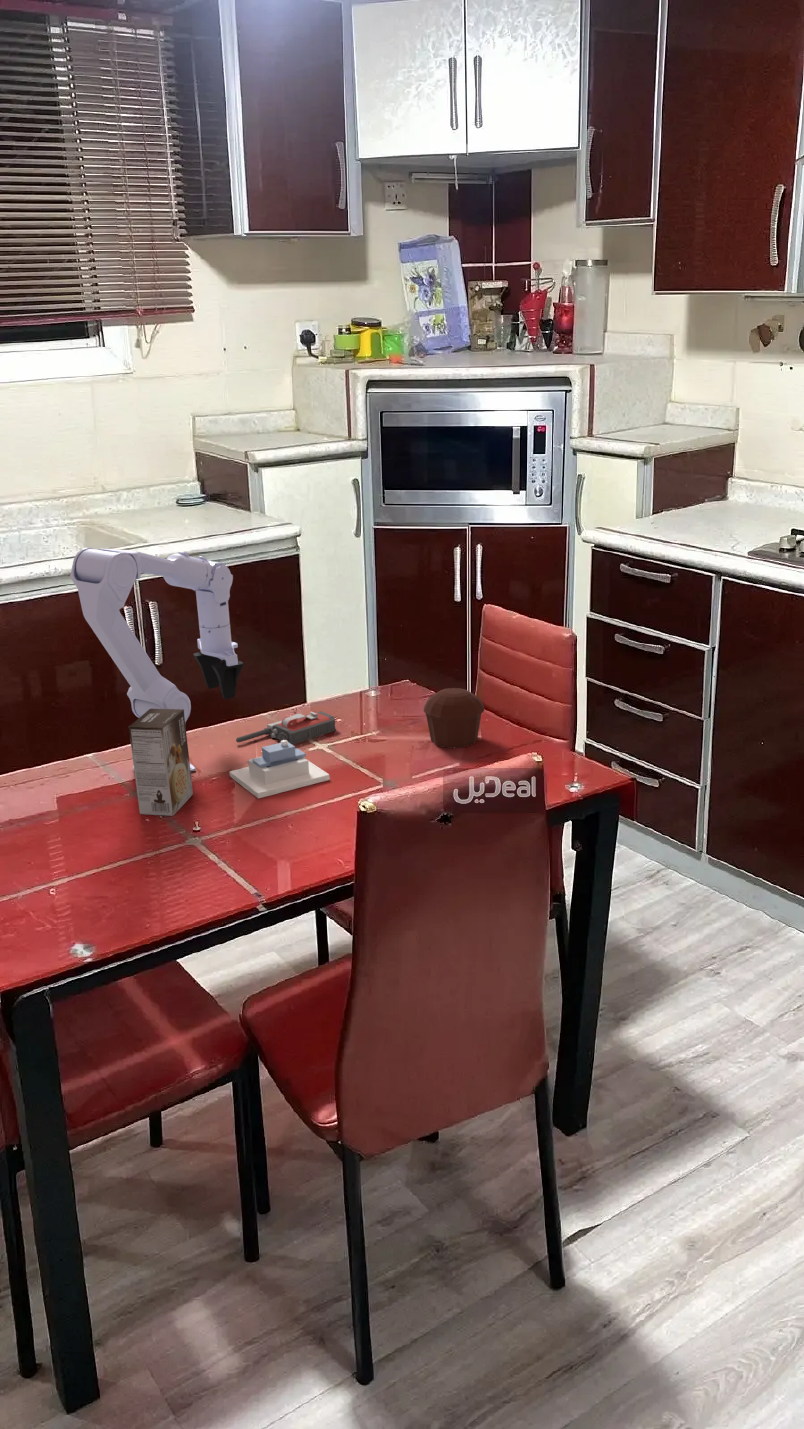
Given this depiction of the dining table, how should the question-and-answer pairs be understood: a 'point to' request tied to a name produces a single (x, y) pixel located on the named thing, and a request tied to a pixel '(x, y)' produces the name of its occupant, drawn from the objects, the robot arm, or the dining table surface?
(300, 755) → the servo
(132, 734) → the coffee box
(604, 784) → the dining table surface
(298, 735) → the walkie-talkie
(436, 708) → the muffin
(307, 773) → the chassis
